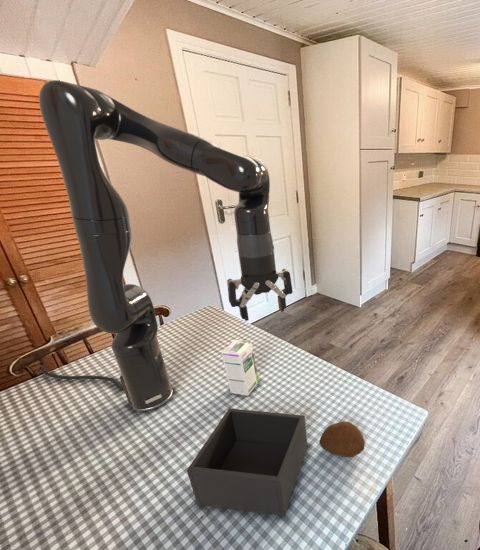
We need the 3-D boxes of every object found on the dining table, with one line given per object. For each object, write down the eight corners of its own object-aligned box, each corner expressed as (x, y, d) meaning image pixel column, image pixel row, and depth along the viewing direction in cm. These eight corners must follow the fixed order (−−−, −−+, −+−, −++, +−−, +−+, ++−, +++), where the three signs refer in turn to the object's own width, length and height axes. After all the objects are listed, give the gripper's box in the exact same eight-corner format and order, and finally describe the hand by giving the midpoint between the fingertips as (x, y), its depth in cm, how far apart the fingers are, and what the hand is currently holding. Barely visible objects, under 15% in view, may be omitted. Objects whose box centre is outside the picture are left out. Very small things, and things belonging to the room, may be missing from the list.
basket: (197, 505, 58) (186, 470, 55) (235, 439, 72) (229, 408, 68) (285, 516, 57) (279, 481, 53) (307, 447, 70) (304, 415, 67)
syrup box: (248, 396, 85) (240, 353, 80) (229, 393, 86) (220, 350, 81) (259, 382, 90) (252, 341, 85) (241, 379, 91) (233, 338, 86)
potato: (324, 432, 74) (323, 411, 71) (366, 437, 73) (367, 415, 70) (316, 459, 67) (315, 436, 65) (363, 465, 66) (363, 442, 64)
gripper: (282, 243, 74) (287, 302, 80) (219, 251, 67) (230, 315, 73) (292, 250, 68) (297, 313, 74) (225, 261, 61) (236, 330, 67)
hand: (264, 314), depth 74 cm, fingers open, 8 cm apart
